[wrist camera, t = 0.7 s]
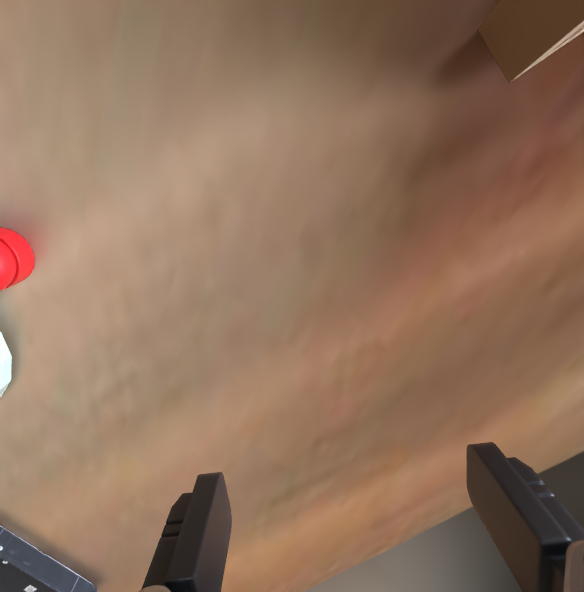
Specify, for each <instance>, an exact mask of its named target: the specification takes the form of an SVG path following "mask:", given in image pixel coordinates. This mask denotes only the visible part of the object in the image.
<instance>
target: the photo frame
mask: <svg viewBox="0 0 584 592" xmlns="http://www.w3.org/2000/svg"><path fill="white" fill-rule="evenodd" d="M478 31H479V33H480V34H481V36H482V38H483V39H484V41H485V43H486V45H487V46H488V48H489V50H490V51H491V53H492V55H493V56H494V58H495V60H496V61H497V63H498V65H499V67H500V68H501V70H502V72H503V73H504V75H505V77H506V78H507V80H508V82H509V83H510V82H511V81H513V80H514V79H516V78H517V77H519V76H520V75H521V74H523V73H524V72H526V71H527V70H529V69H530V68H532V67H533V66H535V65H536V64H537V63H539V62H540V61H542V60H543V59H545V58H546V57H548V56H549V55H550V54H552V53H553V52H555V51H556V50H558V49H559V48H561V47H562V46H564V45H565V44H566V43H568V42H569V41H571V40H572V39H574V38H575V37H577V36H578V35H579V34H581V33H582V32H584V0H500V1H499V2H498V3H497V5H496V6H495V8H494V9H493V10H492V12H491V13H490V14H489V16H488V17H487V18H486V20H485V21H484V22H483V24H482V25H481V26H480V28H479V29H478Z"/></svg>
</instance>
